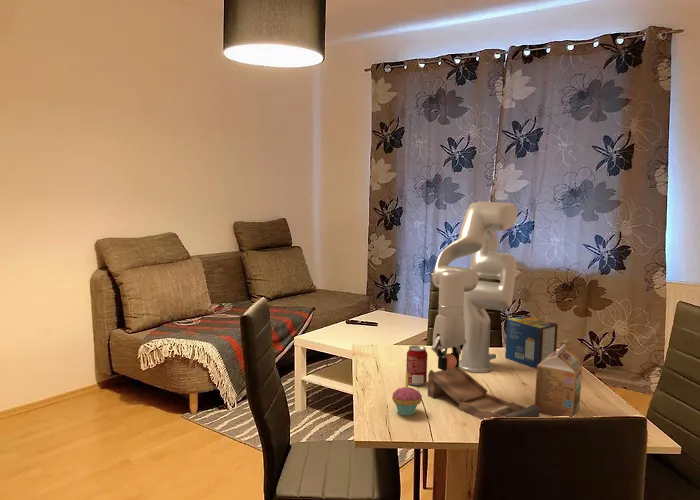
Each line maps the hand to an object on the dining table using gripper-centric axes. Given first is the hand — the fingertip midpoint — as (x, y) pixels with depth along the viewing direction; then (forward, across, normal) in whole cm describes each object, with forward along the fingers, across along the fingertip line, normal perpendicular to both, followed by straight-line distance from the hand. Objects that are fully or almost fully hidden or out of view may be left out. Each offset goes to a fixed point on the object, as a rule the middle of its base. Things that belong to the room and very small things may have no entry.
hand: (448, 367), depth 177 cm
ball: (+1, 0, 0) cm, 1 cm away
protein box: (+9, -51, -6) cm, 52 cm away
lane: (+9, 0, +13) cm, 16 cm away
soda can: (+9, +1, -13) cm, 16 cm away
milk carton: (+9, -18, +27) cm, 34 cm away
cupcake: (+9, +20, +3) cm, 22 cm away
